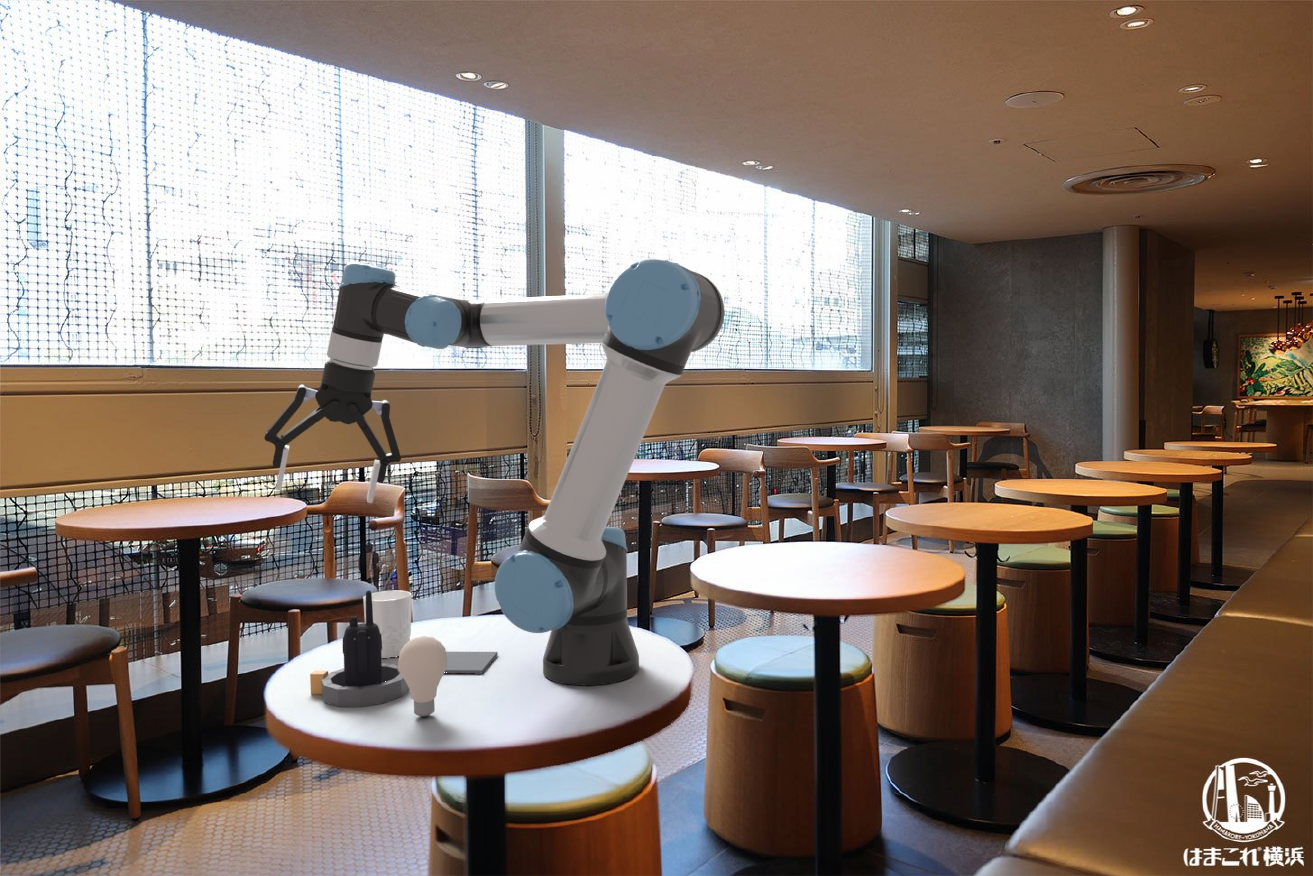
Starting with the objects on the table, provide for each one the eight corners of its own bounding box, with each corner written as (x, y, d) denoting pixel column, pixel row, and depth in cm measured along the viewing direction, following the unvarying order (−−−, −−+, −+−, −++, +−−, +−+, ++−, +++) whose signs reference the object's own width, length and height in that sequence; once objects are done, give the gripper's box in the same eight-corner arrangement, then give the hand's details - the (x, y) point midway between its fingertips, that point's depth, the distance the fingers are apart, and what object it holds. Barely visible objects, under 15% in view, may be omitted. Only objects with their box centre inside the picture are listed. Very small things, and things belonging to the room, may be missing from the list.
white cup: (420, 647, 153) (418, 590, 152) (402, 660, 145) (400, 601, 145) (376, 646, 154) (374, 590, 153) (356, 660, 146) (355, 600, 145)
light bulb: (405, 709, 122) (402, 631, 122) (452, 707, 122) (450, 629, 122) (394, 726, 115) (391, 644, 115) (444, 724, 116) (442, 642, 115)
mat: (497, 655, 147) (497, 651, 147) (482, 674, 137) (481, 670, 137) (439, 655, 148) (439, 651, 148) (419, 673, 138) (419, 669, 138)
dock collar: (418, 680, 135) (418, 660, 135) (390, 707, 123) (390, 686, 123) (330, 679, 136) (330, 660, 135) (294, 706, 124) (293, 685, 124)
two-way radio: (383, 686, 132) (380, 587, 131) (383, 695, 128) (380, 594, 127) (344, 690, 130) (341, 590, 130) (343, 700, 126) (340, 597, 125)
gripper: (429, 376, 143) (403, 499, 146) (265, 343, 134) (240, 475, 137) (435, 383, 137) (407, 512, 139) (262, 349, 127) (236, 488, 130)
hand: (324, 494), depth 138 cm, fingers open, 13 cm apart
